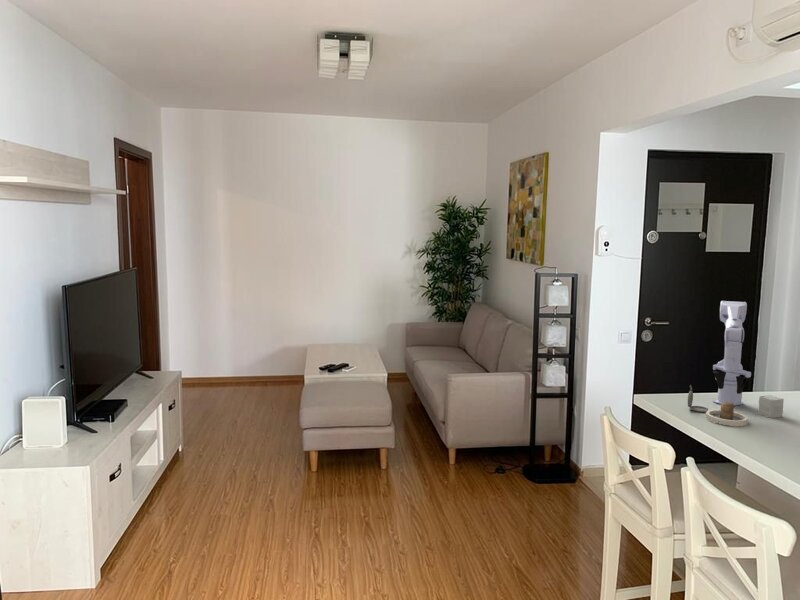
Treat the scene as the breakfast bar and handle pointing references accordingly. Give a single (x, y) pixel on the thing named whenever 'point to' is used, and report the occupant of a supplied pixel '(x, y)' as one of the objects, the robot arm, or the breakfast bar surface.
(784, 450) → the breakfast bar surface
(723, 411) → the walnut cylinder
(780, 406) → the skincare box
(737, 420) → the round tray
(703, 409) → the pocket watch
